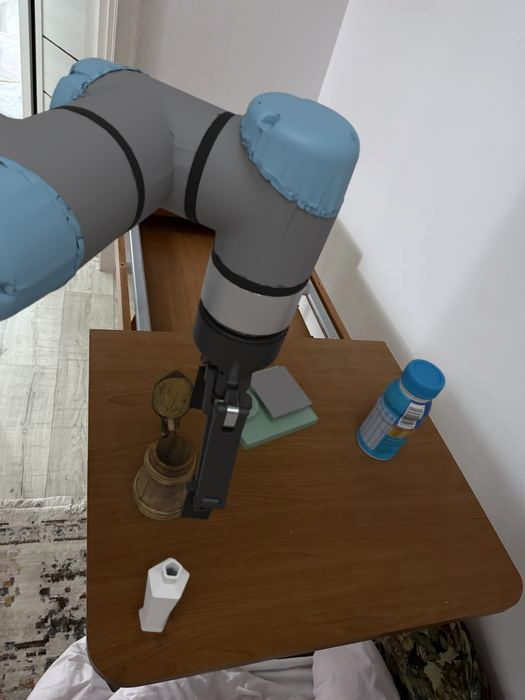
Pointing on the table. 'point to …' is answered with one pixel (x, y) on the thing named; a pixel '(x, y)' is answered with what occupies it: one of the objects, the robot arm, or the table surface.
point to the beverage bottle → (400, 409)
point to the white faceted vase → (162, 594)
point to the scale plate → (279, 392)
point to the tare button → (248, 400)
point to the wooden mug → (167, 453)
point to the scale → (271, 422)
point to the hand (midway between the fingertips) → (197, 456)
